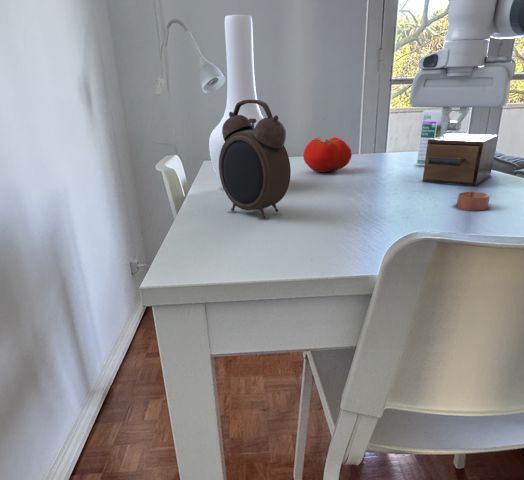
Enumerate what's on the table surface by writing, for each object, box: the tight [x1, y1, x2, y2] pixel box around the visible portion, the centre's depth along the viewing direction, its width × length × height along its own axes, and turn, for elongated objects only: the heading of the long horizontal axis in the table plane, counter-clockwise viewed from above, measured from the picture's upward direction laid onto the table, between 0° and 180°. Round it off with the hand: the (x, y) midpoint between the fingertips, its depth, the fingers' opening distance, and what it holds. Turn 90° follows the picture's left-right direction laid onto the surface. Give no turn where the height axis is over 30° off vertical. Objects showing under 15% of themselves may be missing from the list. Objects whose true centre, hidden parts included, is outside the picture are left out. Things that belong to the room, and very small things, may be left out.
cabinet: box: [422, 133, 499, 187], centre depth 116 cm, size 15×13×10 cm
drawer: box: [422, 144, 479, 183], centre depth 113 cm, size 18×11×8 cm, turn 145°
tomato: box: [302, 136, 353, 173], centre depth 131 cm, size 14×13×9 cm
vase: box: [208, 14, 265, 188], centre depth 108 cm, size 17×17×35 cm
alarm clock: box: [219, 99, 292, 220], centre depth 88 cm, size 15×7×20 cm, turn 46°
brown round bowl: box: [456, 191, 491, 212], centre depth 92 cm, size 6×6×2 cm
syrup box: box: [415, 109, 450, 167], centre depth 134 cm, size 6×6×14 cm
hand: (452, 130), depth 105 cm, fingers closed
